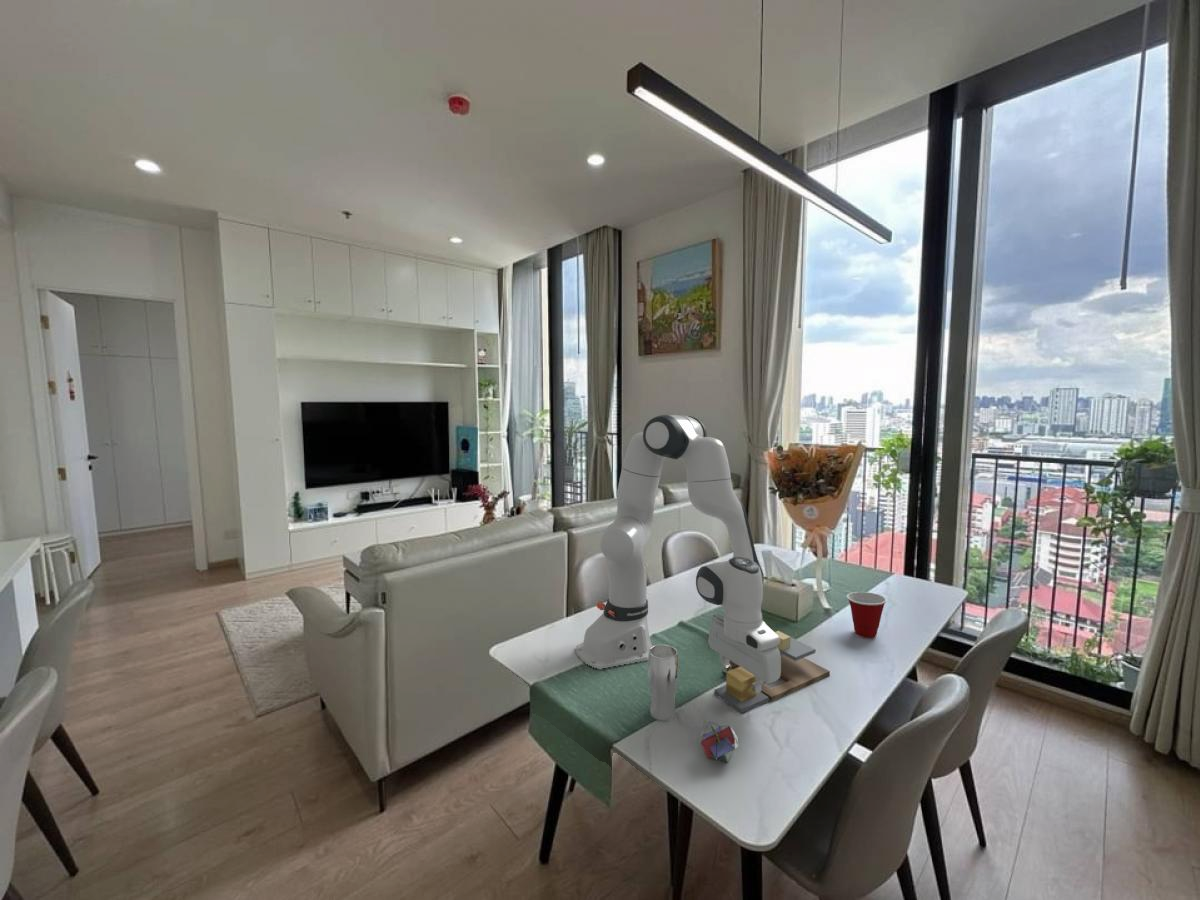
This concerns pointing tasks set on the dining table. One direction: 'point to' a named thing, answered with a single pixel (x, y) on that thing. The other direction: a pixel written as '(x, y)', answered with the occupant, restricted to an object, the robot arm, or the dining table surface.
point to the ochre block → (740, 683)
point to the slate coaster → (743, 705)
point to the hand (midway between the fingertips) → (741, 681)
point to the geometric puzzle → (719, 742)
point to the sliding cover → (793, 647)
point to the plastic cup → (866, 612)
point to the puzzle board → (793, 676)
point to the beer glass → (663, 681)
